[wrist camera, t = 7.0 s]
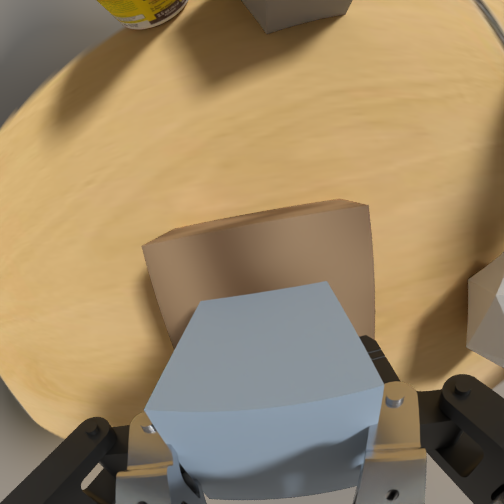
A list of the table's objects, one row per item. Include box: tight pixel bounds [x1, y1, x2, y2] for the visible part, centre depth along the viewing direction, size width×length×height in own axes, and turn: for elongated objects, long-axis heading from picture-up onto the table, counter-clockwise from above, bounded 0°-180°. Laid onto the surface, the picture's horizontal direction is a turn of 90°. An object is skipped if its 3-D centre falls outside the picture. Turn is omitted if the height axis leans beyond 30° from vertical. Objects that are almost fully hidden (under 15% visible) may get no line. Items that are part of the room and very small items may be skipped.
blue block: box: [144, 281, 384, 500], centre depth 8 cm, size 5×5×6 cm
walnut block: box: [142, 199, 375, 350], centre depth 15 cm, size 10×10×5 cm
